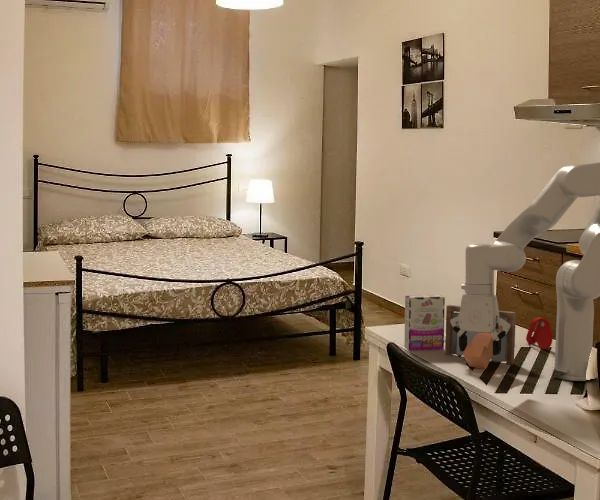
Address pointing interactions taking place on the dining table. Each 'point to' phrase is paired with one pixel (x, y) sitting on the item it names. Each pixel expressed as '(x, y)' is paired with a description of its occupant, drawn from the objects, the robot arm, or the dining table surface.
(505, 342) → the door
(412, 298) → the candy bar box
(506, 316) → the brown door frame
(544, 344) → the tracker holder
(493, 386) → the dining table surface
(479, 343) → the orange stepped block
